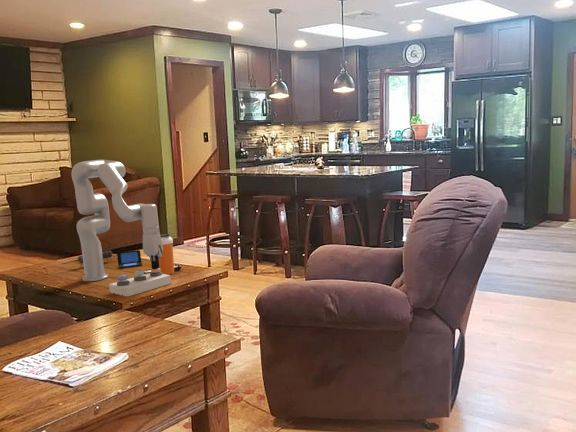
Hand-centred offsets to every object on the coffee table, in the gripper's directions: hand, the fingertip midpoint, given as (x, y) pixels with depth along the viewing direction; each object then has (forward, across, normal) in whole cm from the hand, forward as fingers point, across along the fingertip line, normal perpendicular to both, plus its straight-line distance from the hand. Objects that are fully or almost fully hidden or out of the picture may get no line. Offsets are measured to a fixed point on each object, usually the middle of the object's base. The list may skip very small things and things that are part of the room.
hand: (155, 268), depth 287 cm
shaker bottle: (+7, -12, +15) cm, 21 cm away
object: (+7, -49, +17) cm, 52 cm away
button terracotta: (+2, 0, 0) cm, 2 cm away
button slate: (+1, 0, -18) cm, 18 cm away
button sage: (+1, 0, -9) cm, 9 cm away
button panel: (+7, 0, -9) cm, 12 cm away
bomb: (+7, -71, +5) cm, 72 cm away
